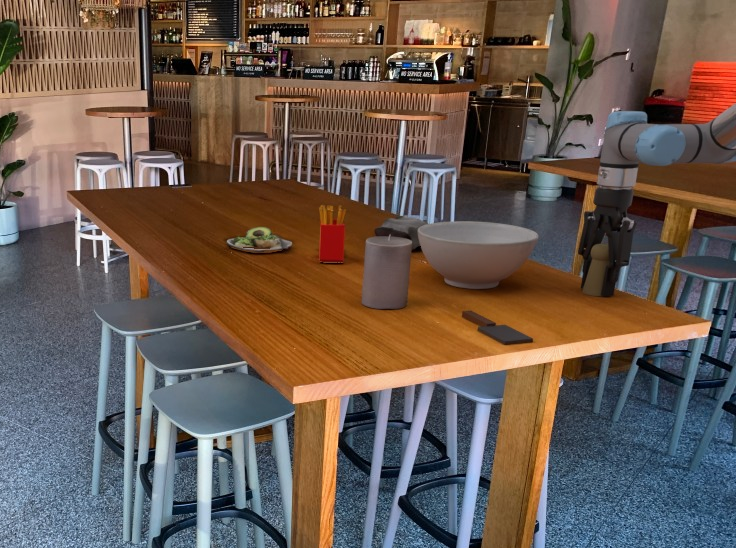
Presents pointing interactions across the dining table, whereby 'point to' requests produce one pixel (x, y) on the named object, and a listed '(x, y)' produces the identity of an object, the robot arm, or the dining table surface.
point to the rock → (401, 228)
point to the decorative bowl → (476, 251)
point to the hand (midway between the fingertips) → (596, 291)
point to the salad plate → (259, 241)
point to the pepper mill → (596, 270)
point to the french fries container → (331, 235)
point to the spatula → (496, 329)
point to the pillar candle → (386, 272)
